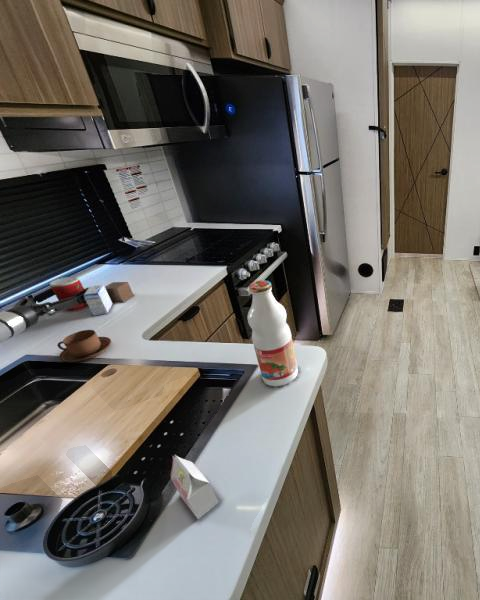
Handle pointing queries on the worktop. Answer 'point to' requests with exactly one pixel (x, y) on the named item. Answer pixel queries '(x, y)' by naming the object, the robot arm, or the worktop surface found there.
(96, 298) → the medicine box
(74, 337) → the cup and saucer
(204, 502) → the white carton box
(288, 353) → the fruit juice
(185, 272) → the worktop surface
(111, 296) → the walnut block
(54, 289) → the canned food
